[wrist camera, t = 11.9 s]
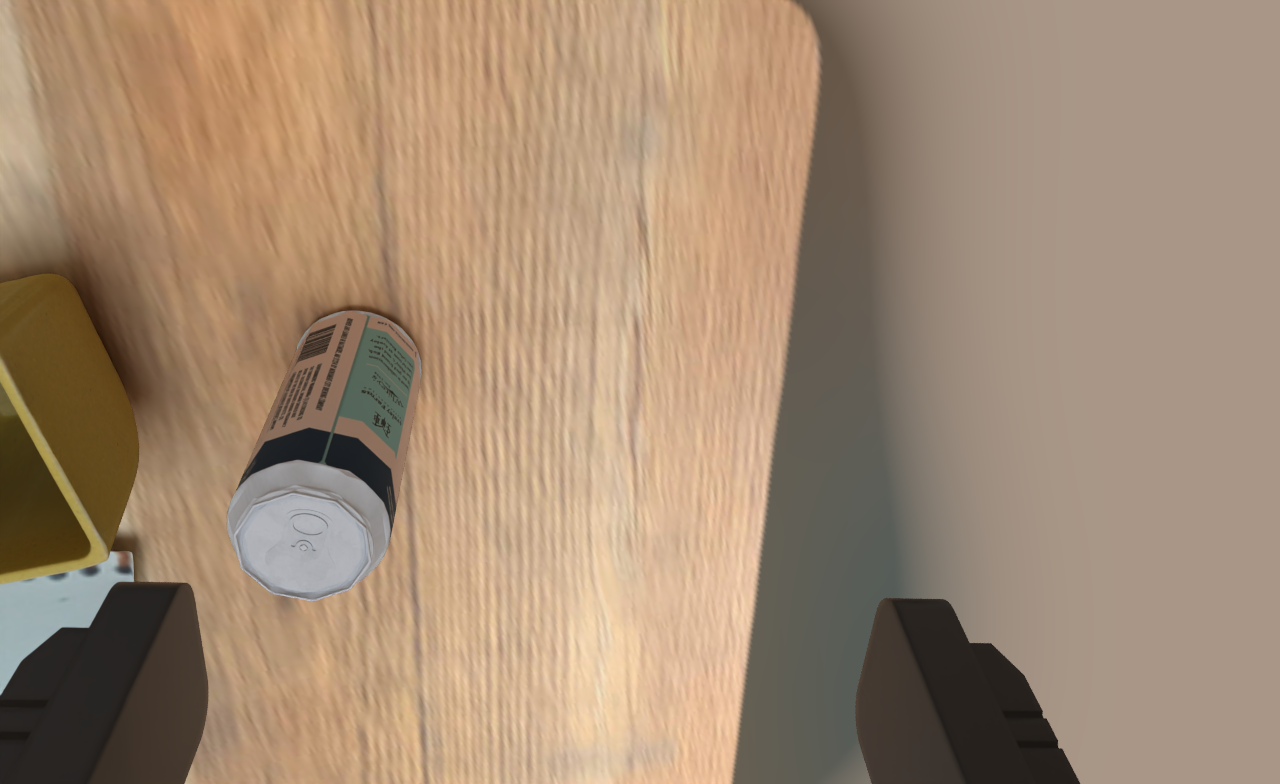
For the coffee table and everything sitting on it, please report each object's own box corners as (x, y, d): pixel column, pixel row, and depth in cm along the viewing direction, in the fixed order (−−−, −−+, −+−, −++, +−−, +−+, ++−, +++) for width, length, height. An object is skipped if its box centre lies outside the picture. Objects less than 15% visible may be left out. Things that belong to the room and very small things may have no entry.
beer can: (287, 398, 42) (207, 595, 32) (309, 291, 40) (230, 464, 30) (408, 425, 43) (369, 624, 33) (435, 322, 41) (402, 500, 31)
